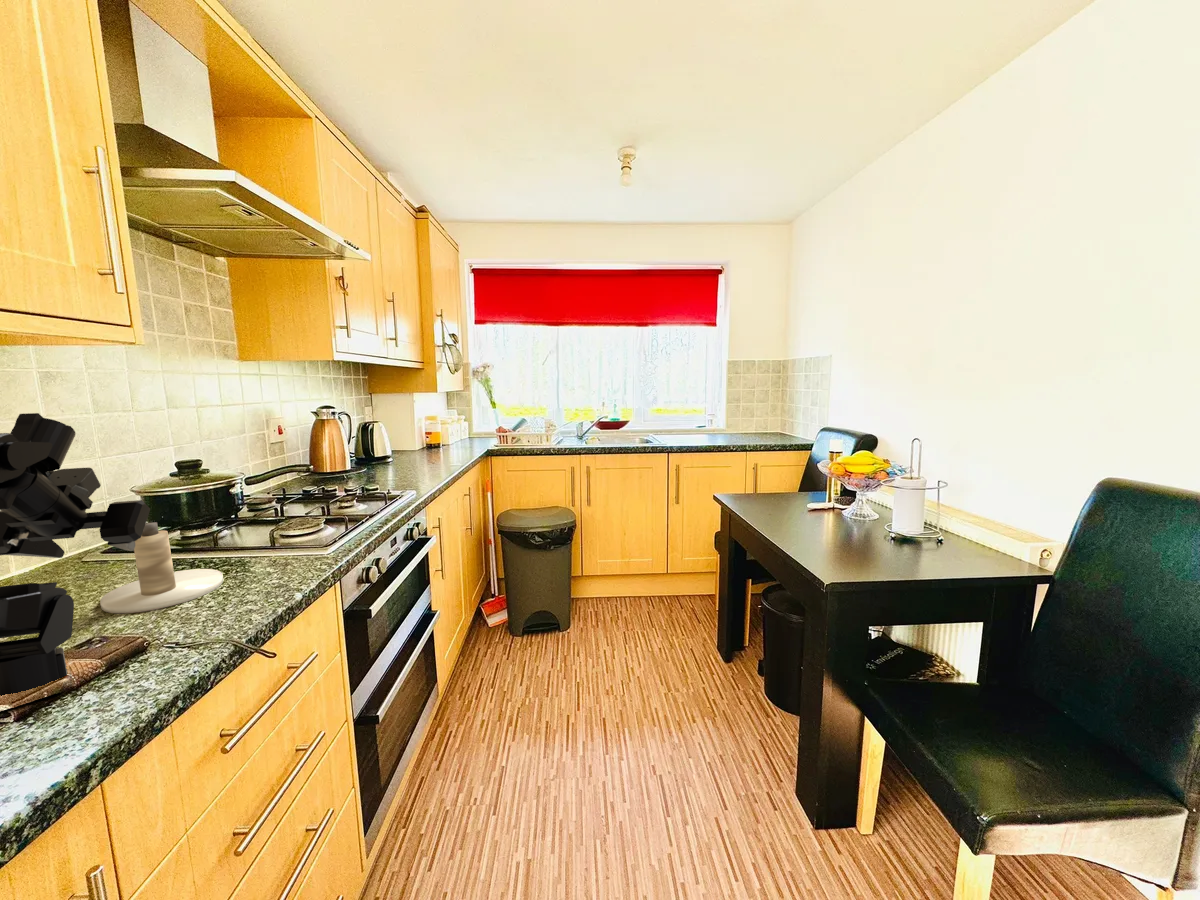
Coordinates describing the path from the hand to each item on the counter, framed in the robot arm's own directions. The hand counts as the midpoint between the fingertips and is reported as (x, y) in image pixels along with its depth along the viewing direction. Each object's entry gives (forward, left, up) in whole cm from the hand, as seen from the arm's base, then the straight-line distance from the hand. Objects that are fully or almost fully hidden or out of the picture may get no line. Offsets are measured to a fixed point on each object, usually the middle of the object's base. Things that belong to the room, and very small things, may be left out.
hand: (98, 551), depth 80 cm
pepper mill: (+7, +12, -12) cm, 19 cm away
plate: (+8, +14, -14) cm, 21 cm away
